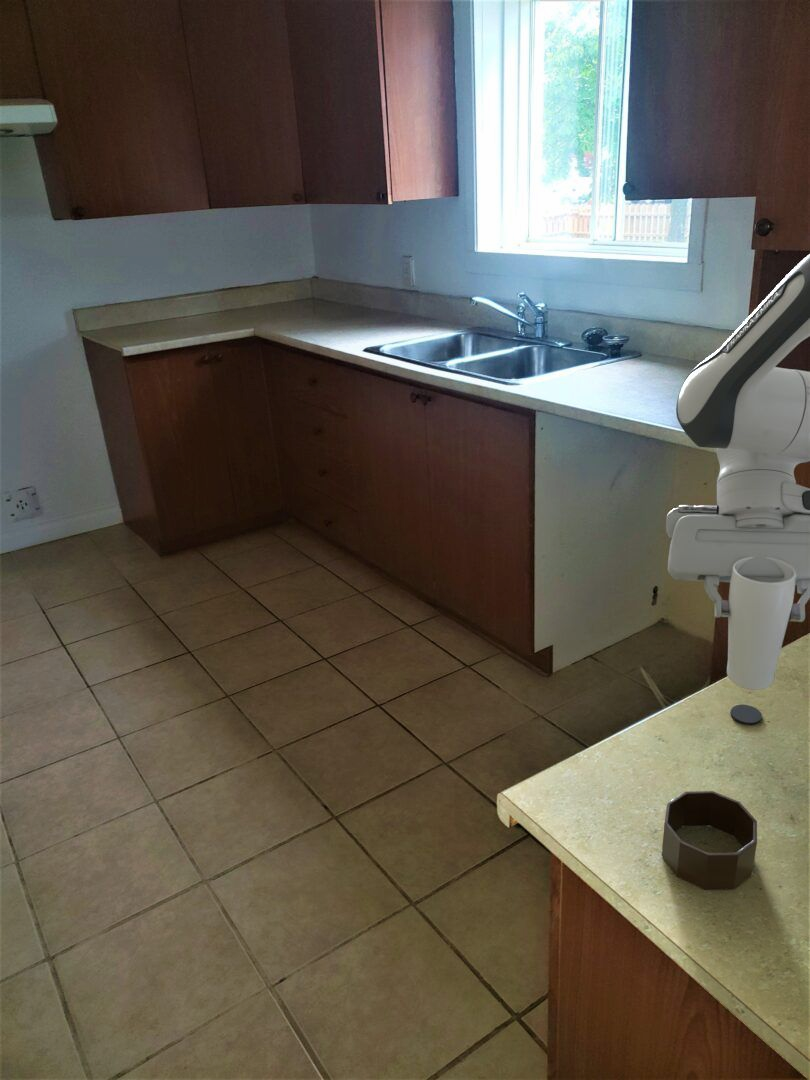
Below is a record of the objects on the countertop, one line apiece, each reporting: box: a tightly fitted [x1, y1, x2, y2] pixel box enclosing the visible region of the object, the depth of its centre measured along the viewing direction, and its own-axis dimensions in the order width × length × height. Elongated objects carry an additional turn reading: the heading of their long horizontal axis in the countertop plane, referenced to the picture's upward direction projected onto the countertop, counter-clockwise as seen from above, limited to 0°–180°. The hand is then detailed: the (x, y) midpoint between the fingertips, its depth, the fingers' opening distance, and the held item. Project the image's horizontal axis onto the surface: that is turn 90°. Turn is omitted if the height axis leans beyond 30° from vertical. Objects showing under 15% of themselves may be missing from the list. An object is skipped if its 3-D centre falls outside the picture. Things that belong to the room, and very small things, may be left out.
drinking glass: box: [726, 557, 796, 691], centre depth 95 cm, size 7×7×15 cm
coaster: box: [729, 704, 763, 726], centre depth 100 cm, size 4×4×1 cm
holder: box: [661, 790, 758, 891], centre depth 81 cm, size 8×9×4 cm
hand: (759, 618), depth 94 cm, fingers closed on drinking glass, 6 cm apart
